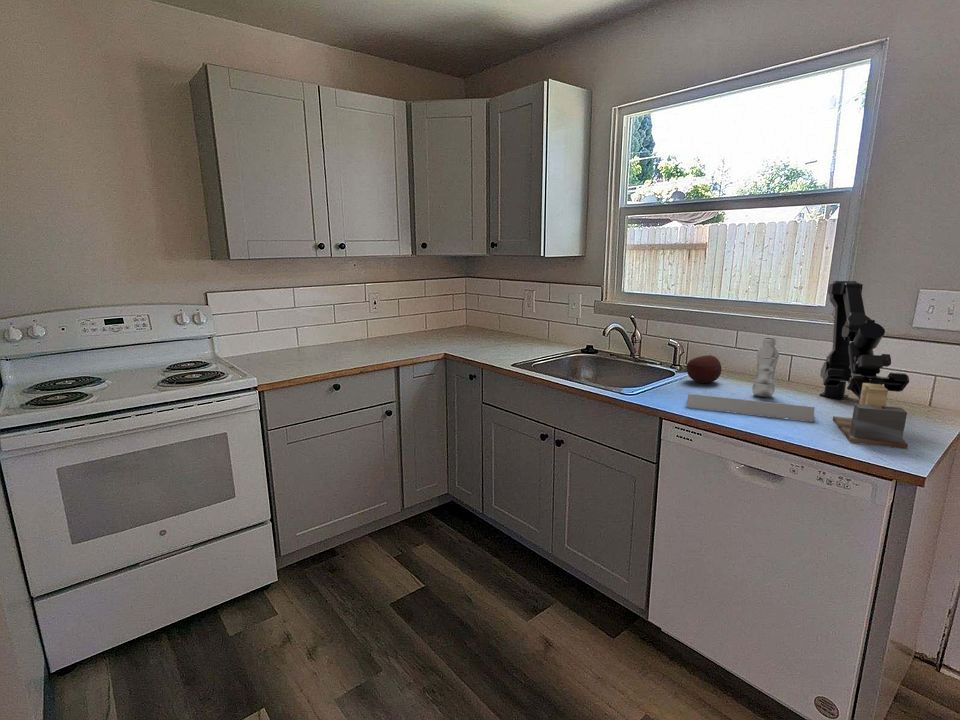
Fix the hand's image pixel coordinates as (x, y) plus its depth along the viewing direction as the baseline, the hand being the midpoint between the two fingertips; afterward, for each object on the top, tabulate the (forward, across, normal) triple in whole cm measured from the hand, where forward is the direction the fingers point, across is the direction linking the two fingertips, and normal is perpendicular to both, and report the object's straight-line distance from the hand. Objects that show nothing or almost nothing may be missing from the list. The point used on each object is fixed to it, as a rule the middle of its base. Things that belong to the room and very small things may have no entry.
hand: (867, 405), depth 139 cm
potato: (-22, -40, +32) cm, 56 cm away
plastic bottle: (-13, -22, +23) cm, 35 cm away
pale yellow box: (+7, 0, +1) cm, 7 cm away
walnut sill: (+7, 0, +3) cm, 8 cm away
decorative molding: (-1, -28, +12) cm, 31 cm away
